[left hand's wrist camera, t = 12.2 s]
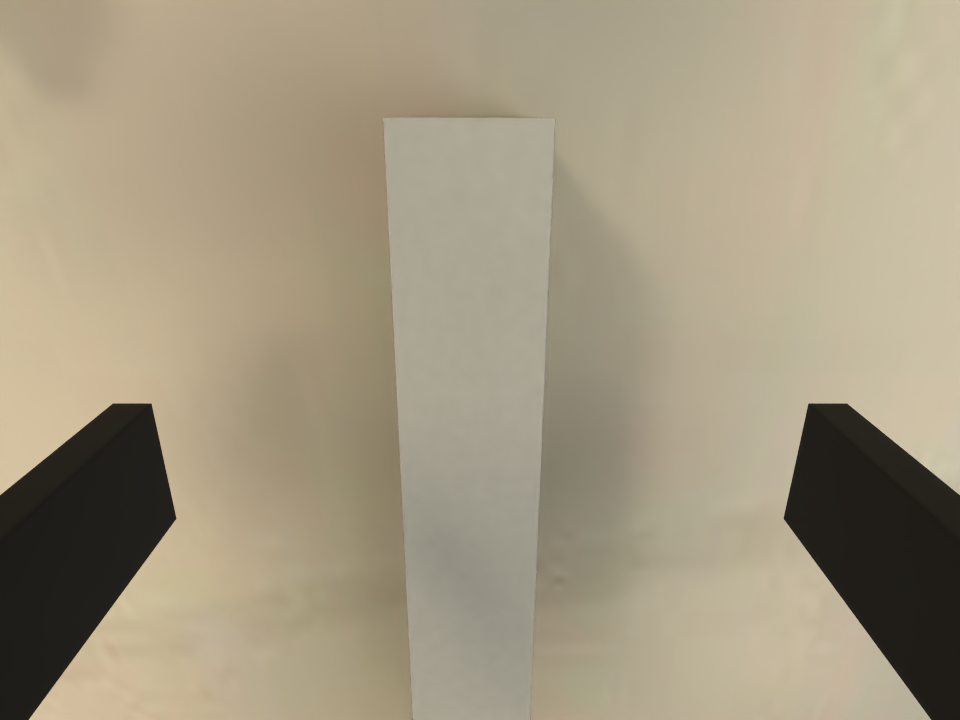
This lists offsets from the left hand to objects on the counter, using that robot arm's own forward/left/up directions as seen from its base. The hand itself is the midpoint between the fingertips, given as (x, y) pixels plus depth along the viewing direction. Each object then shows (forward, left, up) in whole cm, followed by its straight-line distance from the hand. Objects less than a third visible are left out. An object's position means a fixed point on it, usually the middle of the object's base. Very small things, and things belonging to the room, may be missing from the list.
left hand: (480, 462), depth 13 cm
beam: (+20, -15, -15) cm, 29 cm away
